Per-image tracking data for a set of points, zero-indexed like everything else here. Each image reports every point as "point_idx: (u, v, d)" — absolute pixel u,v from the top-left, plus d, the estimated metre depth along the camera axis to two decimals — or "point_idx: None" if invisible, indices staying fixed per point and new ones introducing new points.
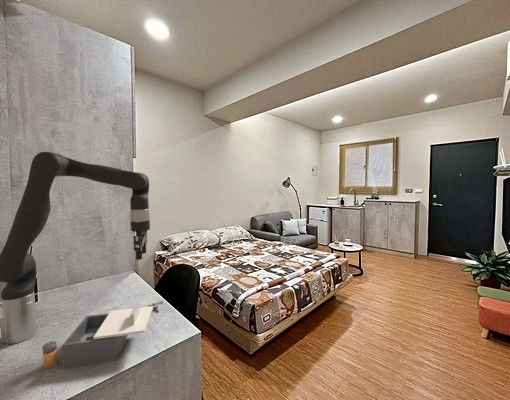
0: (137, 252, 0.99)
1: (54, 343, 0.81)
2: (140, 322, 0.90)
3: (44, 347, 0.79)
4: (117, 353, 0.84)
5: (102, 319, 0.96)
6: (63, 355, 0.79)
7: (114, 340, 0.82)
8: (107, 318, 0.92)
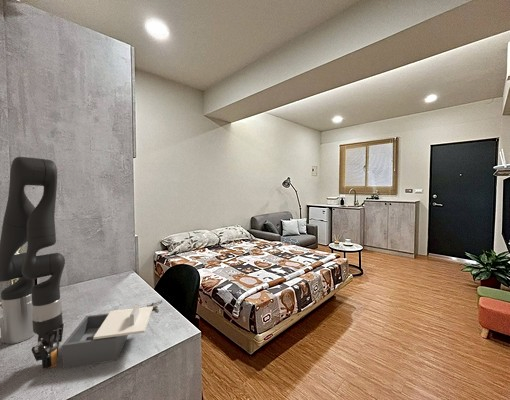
0: (43, 360, 0.77)
1: (54, 343, 0.81)
2: (140, 322, 0.90)
3: None
4: (117, 353, 0.84)
5: (102, 319, 0.96)
6: (63, 355, 0.79)
7: (114, 340, 0.82)
8: (107, 318, 0.92)
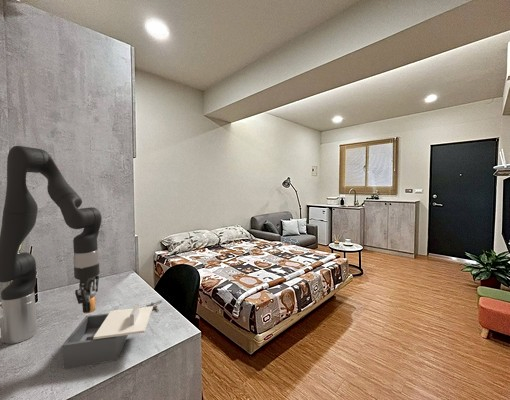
0: (83, 304, 0.84)
1: (92, 291, 0.88)
2: (140, 322, 0.90)
3: None
4: (117, 353, 0.84)
5: (102, 319, 0.96)
6: (63, 355, 0.79)
7: (114, 340, 0.82)
8: (107, 318, 0.92)
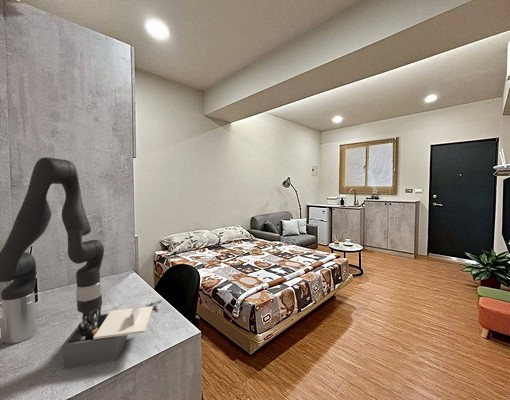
0: (87, 336, 0.86)
1: (95, 322, 0.89)
2: (140, 322, 0.90)
3: None
4: (117, 353, 0.84)
5: (102, 319, 0.96)
6: (63, 355, 0.79)
7: (114, 340, 0.82)
8: (107, 318, 0.92)
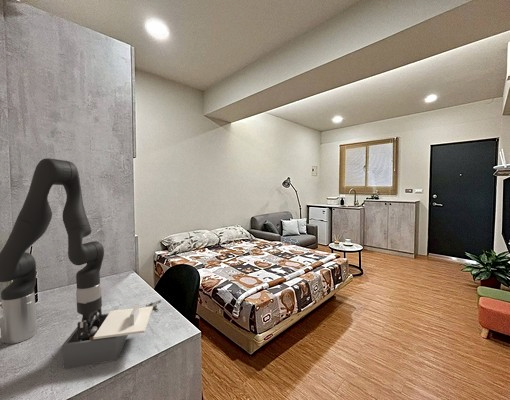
0: (83, 339, 0.83)
1: (95, 328, 0.89)
2: (140, 322, 0.90)
3: (87, 331, 0.87)
4: (117, 353, 0.84)
5: (102, 319, 0.96)
6: (63, 355, 0.79)
7: (114, 340, 0.82)
8: (107, 318, 0.92)
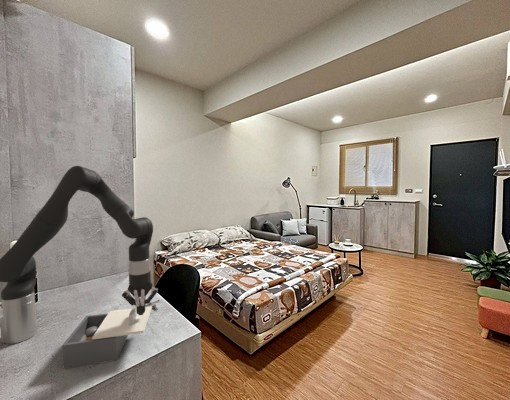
0: None
1: (95, 327, 0.90)
2: (139, 322, 0.89)
3: (87, 331, 0.87)
4: (117, 353, 0.84)
5: (102, 319, 0.96)
6: (63, 355, 0.79)
7: (114, 340, 0.82)
8: (106, 318, 0.92)
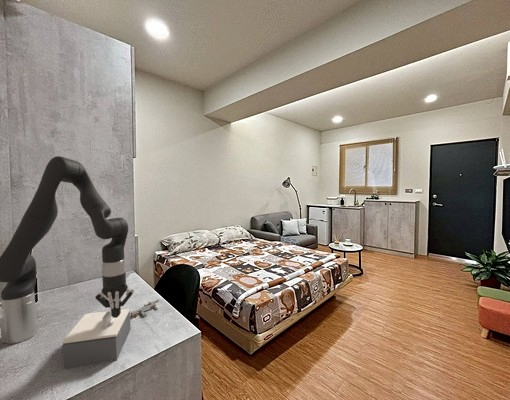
0: None
1: None
2: (113, 325, 0.87)
3: None
4: (117, 353, 0.84)
5: None
6: (63, 355, 0.79)
7: (114, 340, 0.82)
8: (80, 321, 0.90)
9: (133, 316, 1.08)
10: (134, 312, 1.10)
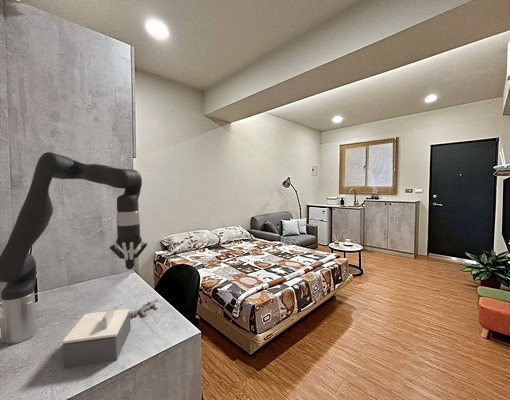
0: None
1: None
2: (113, 325, 0.87)
3: None
4: (117, 353, 0.84)
5: None
6: (63, 355, 0.79)
7: (114, 340, 0.82)
8: (80, 321, 0.90)
9: (133, 316, 1.08)
10: (134, 312, 1.10)
